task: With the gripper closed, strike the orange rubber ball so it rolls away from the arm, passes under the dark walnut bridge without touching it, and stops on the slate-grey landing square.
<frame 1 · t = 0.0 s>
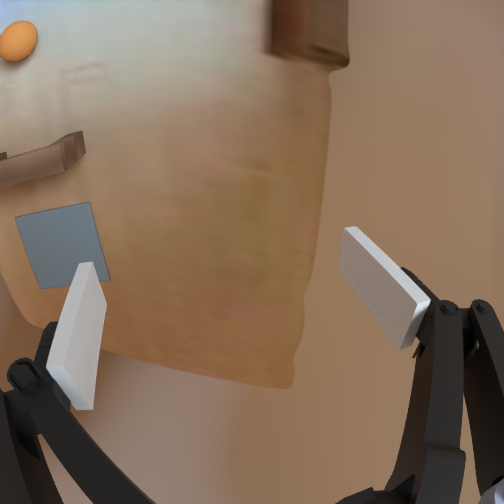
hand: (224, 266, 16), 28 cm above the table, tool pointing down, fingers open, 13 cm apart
ball: (17, 40, 23), on the table
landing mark: (61, 249, 41), on the table
bridge: (37, 153, 33), on the table
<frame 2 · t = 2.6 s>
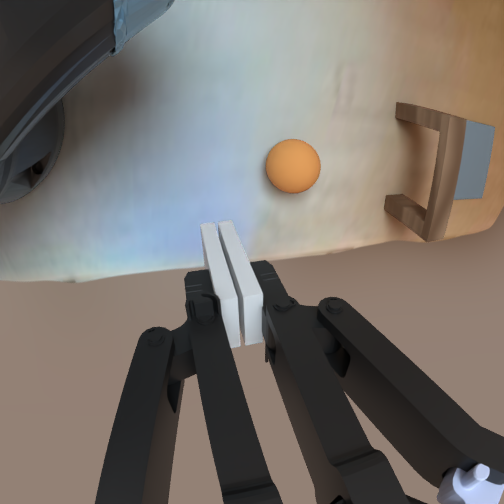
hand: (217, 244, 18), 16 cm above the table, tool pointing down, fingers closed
ball: (293, 166, 31), on the table
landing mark: (467, 161, 39), on the table
bridge: (400, 157, 36), on the table
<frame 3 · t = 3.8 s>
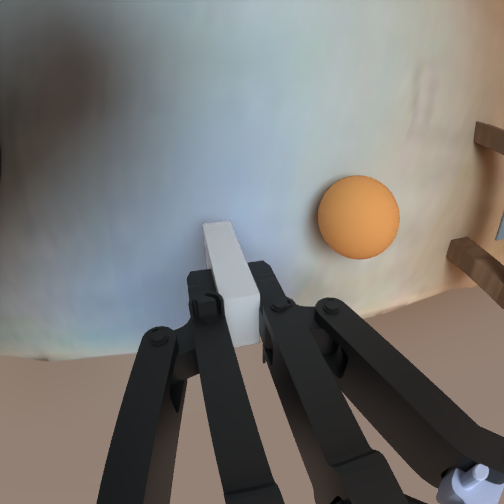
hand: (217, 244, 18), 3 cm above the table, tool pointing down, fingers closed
ball: (359, 217, 20), on the table
bridge: (472, 192, 25), on the table
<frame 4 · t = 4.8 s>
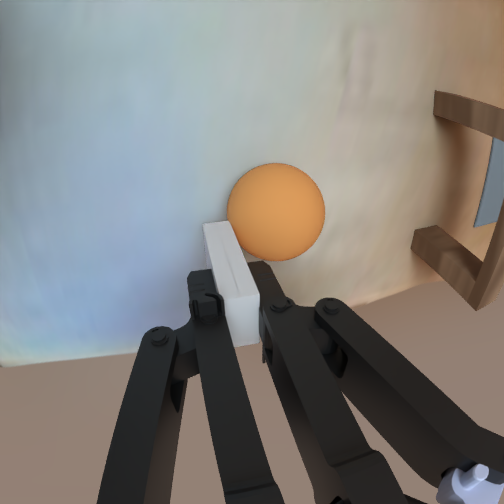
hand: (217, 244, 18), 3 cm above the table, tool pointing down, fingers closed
ball: (276, 212, 18), on the table, touching gripper
bridge: (437, 174, 23), on the table
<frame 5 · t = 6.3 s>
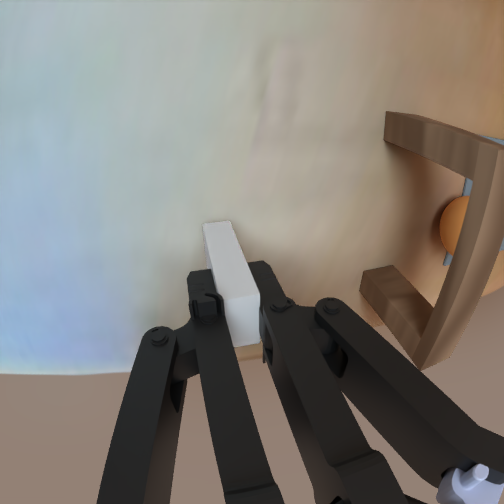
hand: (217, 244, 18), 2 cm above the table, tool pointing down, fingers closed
ball: (469, 229, 21), on the table
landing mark: (495, 201, 25), on the table
bridge: (390, 209, 22), on the table
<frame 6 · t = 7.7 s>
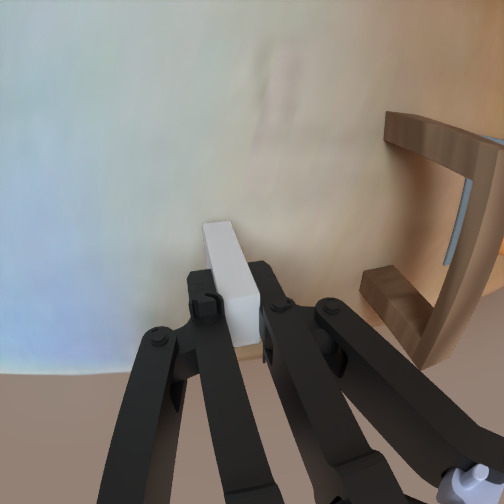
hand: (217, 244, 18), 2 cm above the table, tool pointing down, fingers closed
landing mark: (495, 201, 25), on the table
bridge: (390, 209, 22), on the table
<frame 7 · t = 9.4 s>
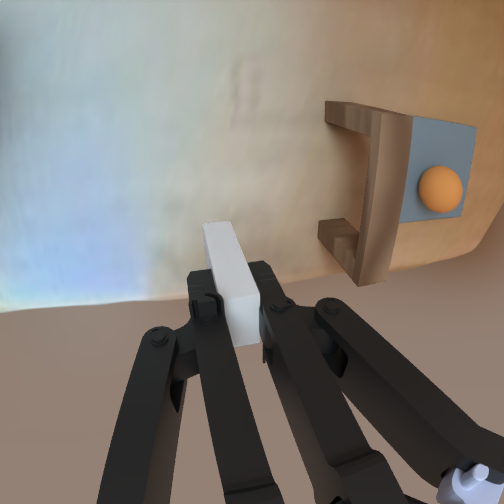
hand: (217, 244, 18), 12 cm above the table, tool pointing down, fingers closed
ball: (440, 189, 31), on the table
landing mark: (438, 171, 33), on the table
bridge: (335, 172, 30), on the table
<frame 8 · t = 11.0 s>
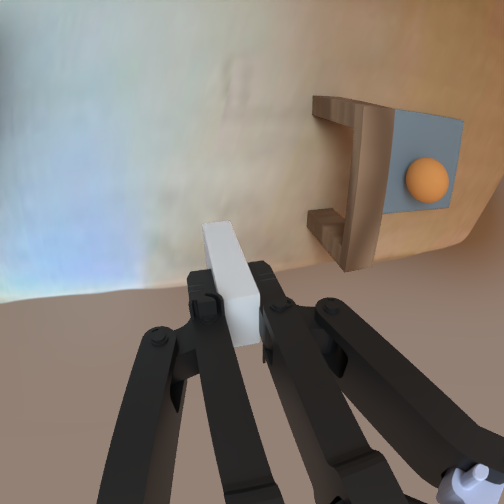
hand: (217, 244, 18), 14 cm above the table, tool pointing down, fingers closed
ball: (427, 180, 33), on the table
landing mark: (425, 163, 35), on the table
bridge: (323, 163, 32), on the table
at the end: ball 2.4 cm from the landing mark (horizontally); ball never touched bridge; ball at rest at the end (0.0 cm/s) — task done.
